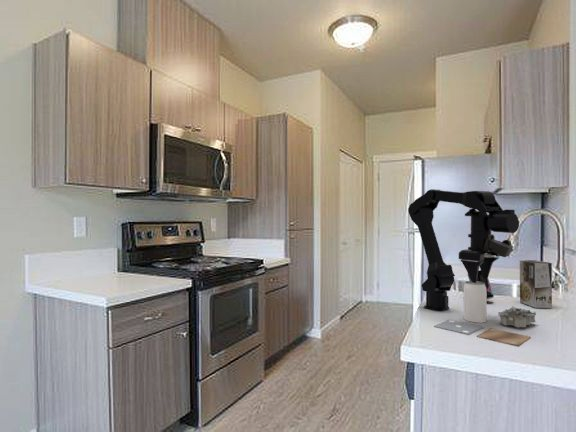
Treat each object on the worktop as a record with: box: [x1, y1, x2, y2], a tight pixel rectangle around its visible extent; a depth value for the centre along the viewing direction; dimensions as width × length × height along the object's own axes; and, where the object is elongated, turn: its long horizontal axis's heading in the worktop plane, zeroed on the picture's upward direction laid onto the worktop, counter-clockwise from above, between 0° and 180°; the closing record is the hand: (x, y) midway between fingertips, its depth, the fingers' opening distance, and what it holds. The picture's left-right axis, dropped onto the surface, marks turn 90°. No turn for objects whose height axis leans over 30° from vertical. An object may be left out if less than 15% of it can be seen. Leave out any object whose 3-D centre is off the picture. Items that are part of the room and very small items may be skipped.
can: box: [463, 280, 488, 323], centre depth 116 cm, size 6×6×12 cm
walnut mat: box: [476, 327, 532, 348], centre depth 99 cm, size 10×10×1 cm
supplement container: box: [467, 269, 495, 300], centre depth 142 cm, size 7×7×10 cm
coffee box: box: [519, 259, 553, 309], centre depth 135 cm, size 9×6×16 cm
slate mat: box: [433, 319, 484, 336], centre depth 108 cm, size 10×10×1 cm
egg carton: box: [498, 306, 537, 328], centre depth 111 cm, size 11×8×4 cm
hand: (480, 280), depth 115 cm, fingers open, 9 cm apart
